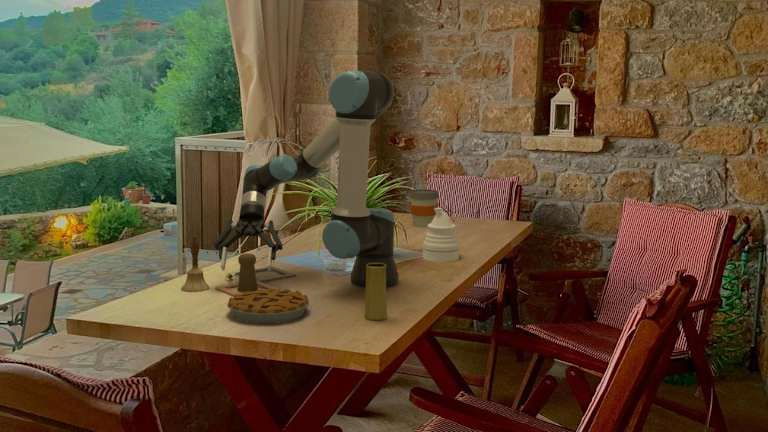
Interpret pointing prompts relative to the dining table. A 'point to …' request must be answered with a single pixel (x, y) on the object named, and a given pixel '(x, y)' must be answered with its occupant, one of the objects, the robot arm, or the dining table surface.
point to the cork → (247, 273)
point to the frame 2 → (285, 275)
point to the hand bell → (195, 271)
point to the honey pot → (441, 239)
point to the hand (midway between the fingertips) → (245, 268)
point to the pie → (268, 305)
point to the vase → (375, 292)
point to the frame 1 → (226, 287)
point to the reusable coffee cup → (423, 206)
